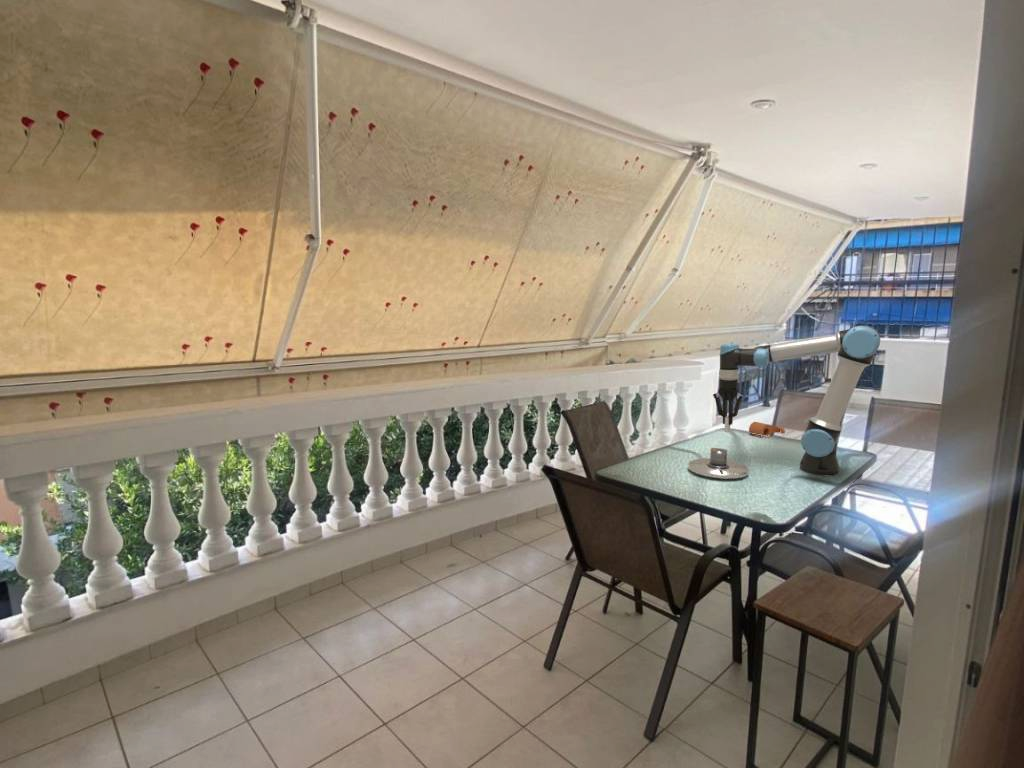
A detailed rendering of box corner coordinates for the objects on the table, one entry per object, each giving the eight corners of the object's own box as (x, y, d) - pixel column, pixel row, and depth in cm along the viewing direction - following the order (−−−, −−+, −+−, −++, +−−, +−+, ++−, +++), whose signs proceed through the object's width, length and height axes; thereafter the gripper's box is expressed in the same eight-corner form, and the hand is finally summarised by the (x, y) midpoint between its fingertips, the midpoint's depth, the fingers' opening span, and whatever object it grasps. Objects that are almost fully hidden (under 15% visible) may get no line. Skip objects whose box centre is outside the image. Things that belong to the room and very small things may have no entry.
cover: (722, 463, 240) (723, 447, 238) (730, 468, 232) (731, 452, 231) (705, 463, 239) (706, 447, 238) (713, 469, 232) (714, 452, 230)
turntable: (754, 480, 222) (755, 464, 221) (692, 476, 227) (692, 461, 226) (741, 463, 245) (742, 449, 244) (685, 460, 250) (686, 446, 249)
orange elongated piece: (760, 440, 292) (761, 425, 291) (748, 436, 299) (749, 422, 298) (786, 436, 300) (787, 421, 299) (774, 432, 307) (775, 418, 306)
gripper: (746, 378, 240) (745, 431, 243) (716, 377, 248) (715, 428, 251) (741, 380, 234) (739, 434, 237) (710, 379, 242) (709, 431, 246)
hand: (727, 431), depth 244 cm, fingers closed
